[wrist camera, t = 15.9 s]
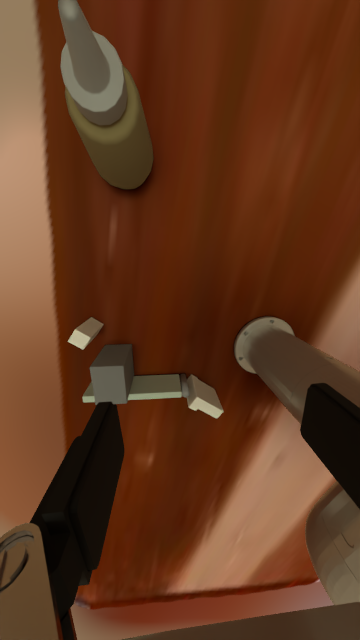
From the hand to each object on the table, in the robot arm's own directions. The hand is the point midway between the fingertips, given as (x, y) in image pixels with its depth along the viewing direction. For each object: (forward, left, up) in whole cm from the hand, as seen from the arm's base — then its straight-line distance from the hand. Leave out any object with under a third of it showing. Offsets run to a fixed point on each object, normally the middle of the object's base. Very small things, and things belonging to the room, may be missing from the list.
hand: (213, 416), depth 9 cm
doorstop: (+3, +16, -27) cm, 31 cm away
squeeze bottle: (+18, -13, -27) cm, 35 cm away
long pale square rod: (-3, +17, -26) cm, 32 cm away
